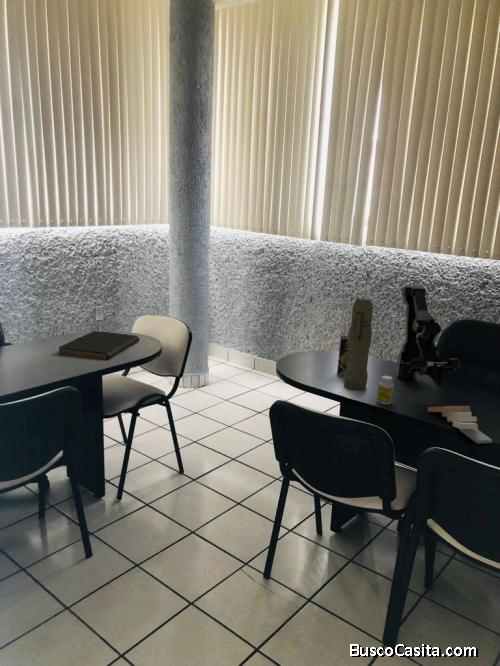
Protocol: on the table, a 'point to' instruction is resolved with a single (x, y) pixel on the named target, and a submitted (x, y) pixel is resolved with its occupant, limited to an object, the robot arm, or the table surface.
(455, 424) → the domino
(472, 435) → the domino
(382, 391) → the supplement bottle
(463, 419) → the domino
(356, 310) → the thermos
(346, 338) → the coffee box
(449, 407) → the domino
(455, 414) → the domino
